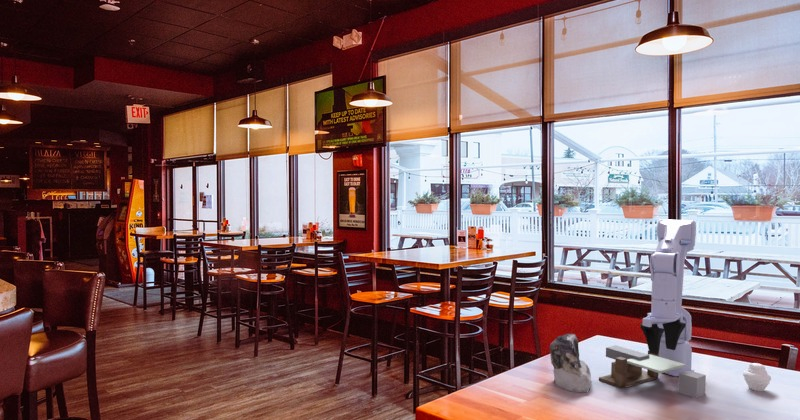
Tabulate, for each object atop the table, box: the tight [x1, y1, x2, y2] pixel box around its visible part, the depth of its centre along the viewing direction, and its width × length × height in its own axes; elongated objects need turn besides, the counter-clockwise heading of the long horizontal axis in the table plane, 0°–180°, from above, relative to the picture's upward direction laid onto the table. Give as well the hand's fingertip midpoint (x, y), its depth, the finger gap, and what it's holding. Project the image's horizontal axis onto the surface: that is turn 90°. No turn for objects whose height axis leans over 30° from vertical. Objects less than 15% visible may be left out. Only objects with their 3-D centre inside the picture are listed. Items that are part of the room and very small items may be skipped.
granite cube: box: [678, 370, 707, 399], centre depth 137 cm, size 4×4×5 cm
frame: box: [598, 349, 659, 389], centre depth 147 cm, size 16×7×8 cm, turn 121°
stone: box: [549, 332, 593, 393], centre depth 142 cm, size 14×10×15 cm
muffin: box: [742, 362, 772, 392], centre depth 140 cm, size 6×6×7 cm
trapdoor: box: [605, 345, 685, 374], centre depth 144 cm, size 11×18×3 cm, turn 31°
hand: (662, 351), depth 138 cm, fingers open, 7 cm apart
